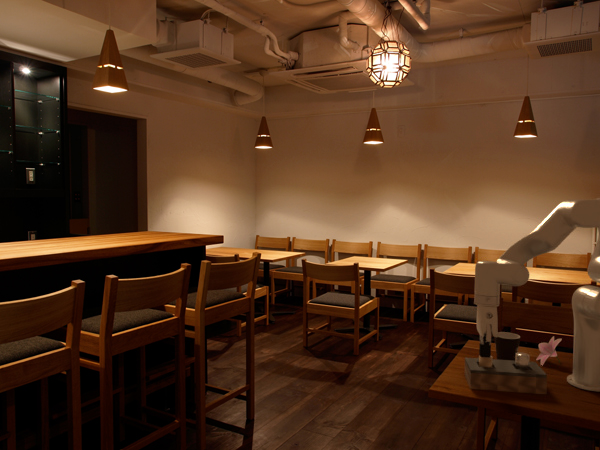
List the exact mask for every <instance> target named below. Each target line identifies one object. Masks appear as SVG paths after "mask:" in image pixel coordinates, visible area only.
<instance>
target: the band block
mask: <svg viewBox="0 0 600 450" xmlns="http://www.w3.org/2000/svg"><path fill="white" fill-rule="evenodd" d="M464 377H465V380H466V382H467V385H468V386H469V389H470V390H482V391H494V392H495V391H496V392H510V393H511V392H512V393H525V394H537V395H547V388H548V387H547V386H548V382H547V381H548V374H547V373H546V372H545V371H544V369H543V368H542V367H541V366H540V365H538V363H537V362H536V361H531V360H529V370H522V369H515V361H514V360H497V358H494V359H493V358H492V368H491V367H479V357H464Z"/></svg>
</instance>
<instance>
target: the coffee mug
mask: <svg viewBox="0 0 600 450" xmlns="http://www.w3.org/2000/svg"><path fill="white" fill-rule="evenodd" d="M520 341H521V336H520V335H519V334H517V333H513V332H508V331H507V332H505V331H500V332H498V337H497V338H495V337H494V343H495V344H494V345H495V355H496V359H497V360H514V361H515V357H516V353H519V348H520Z"/></svg>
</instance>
